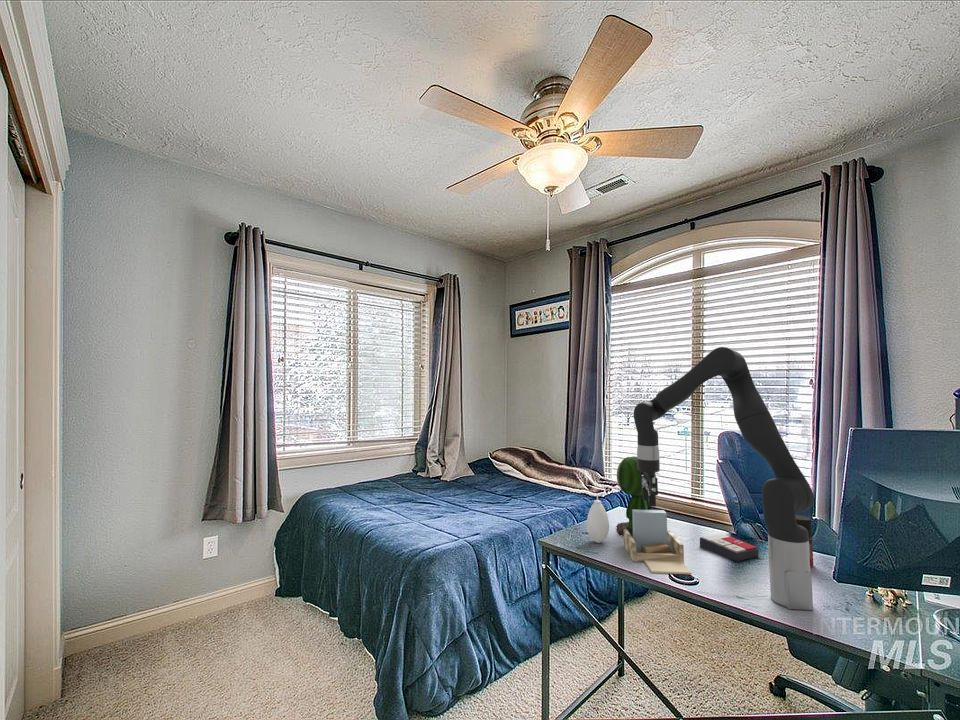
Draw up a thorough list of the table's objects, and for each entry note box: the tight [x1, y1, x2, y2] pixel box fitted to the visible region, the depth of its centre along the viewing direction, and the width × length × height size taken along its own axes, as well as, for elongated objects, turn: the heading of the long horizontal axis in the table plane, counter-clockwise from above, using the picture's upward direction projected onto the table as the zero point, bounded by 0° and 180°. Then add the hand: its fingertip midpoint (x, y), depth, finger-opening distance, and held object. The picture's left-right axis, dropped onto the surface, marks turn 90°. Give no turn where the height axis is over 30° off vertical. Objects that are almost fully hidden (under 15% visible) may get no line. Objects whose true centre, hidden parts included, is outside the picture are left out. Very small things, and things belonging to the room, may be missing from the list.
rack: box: [623, 529, 685, 564], centre depth 156 cm, size 15×16×6 cm
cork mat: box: [643, 560, 692, 575], centre depth 144 cm, size 9×12×1 cm
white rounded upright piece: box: [586, 493, 610, 544], centre depth 168 cm, size 8×8×18 cm
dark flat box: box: [699, 532, 759, 562], centre depth 158 cm, size 11×4×15 cm
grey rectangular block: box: [632, 509, 668, 553], centre depth 159 cm, size 4×11×14 cm, turn 84°
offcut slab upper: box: [641, 543, 670, 553], centre depth 153 cm, size 3×9×2 cm, turn 107°
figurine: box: [615, 456, 657, 538], centre depth 179 cm, size 17×20×30 cm
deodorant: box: [795, 514, 814, 567], centre depth 147 cm, size 6×6×15 cm
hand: (649, 503), depth 159 cm, fingers open, 8 cm apart
